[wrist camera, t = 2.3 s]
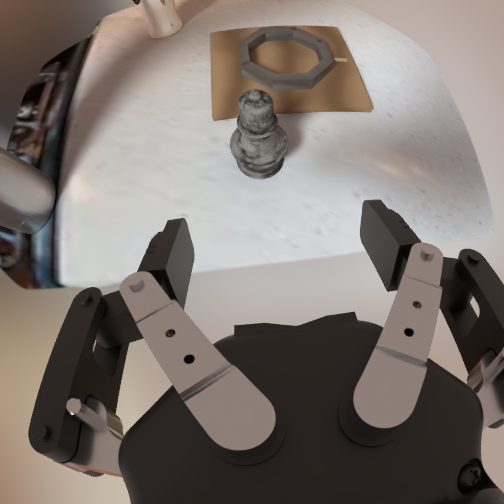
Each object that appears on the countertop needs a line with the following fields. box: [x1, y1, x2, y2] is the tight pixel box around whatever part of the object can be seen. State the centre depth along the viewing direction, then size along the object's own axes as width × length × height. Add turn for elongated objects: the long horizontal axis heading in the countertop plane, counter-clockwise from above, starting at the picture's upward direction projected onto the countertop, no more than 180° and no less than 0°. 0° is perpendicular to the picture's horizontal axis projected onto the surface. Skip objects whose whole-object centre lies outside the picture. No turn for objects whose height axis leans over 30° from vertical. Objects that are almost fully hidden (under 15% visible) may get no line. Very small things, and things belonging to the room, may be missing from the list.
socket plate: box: [210, 26, 373, 121], centre depth 31 cm, size 20×18×3 cm
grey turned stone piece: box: [230, 89, 288, 179], centre depth 24 cm, size 6×6×12 cm
